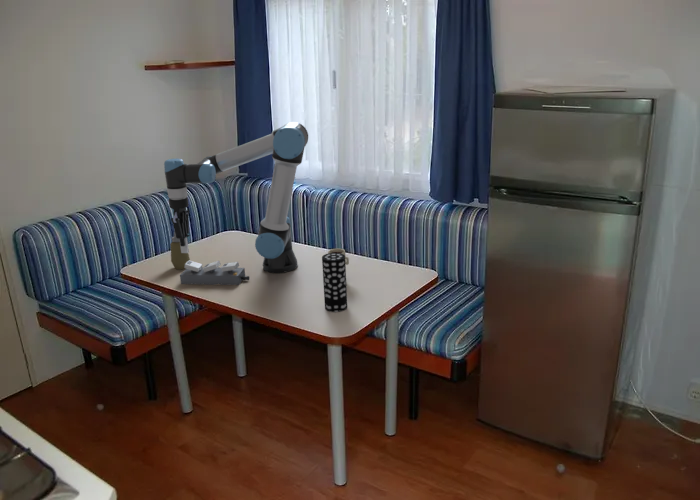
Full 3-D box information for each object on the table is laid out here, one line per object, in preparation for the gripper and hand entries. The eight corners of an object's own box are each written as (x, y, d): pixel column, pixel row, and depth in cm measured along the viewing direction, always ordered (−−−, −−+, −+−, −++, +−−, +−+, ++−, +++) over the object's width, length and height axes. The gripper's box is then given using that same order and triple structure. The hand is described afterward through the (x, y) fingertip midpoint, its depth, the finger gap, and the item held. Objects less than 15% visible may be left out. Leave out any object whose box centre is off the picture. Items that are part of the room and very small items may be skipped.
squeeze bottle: (185, 271, 257) (180, 232, 251) (169, 270, 259) (163, 231, 253) (193, 264, 265) (188, 226, 259) (177, 264, 266) (171, 226, 260)
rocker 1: (201, 268, 247) (202, 264, 247) (197, 272, 243) (198, 268, 242) (188, 263, 248) (189, 259, 247) (184, 267, 243) (185, 263, 243)
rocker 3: (239, 265, 245) (238, 261, 244) (235, 269, 241) (234, 265, 240) (225, 267, 246) (224, 263, 245) (222, 271, 242) (221, 267, 241)
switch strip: (252, 276, 248) (251, 265, 246) (245, 284, 240) (244, 273, 238) (189, 275, 252) (187, 264, 250) (181, 283, 244) (179, 272, 242)
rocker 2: (220, 264, 246) (219, 260, 245) (217, 268, 241) (215, 264, 241) (208, 268, 247) (206, 264, 247) (204, 272, 243) (202, 268, 242)
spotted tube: (347, 302, 220) (344, 252, 214) (347, 311, 212) (345, 260, 206) (325, 303, 220) (322, 253, 213) (324, 312, 212) (321, 261, 206)
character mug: (353, 280, 240) (352, 250, 236) (345, 286, 234) (343, 255, 230) (331, 276, 245) (329, 246, 241) (322, 282, 240) (320, 252, 235)
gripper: (175, 193, 242) (182, 247, 250) (162, 201, 230) (170, 257, 238) (193, 193, 241) (199, 247, 249) (180, 201, 229) (187, 258, 237)
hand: (185, 252), depth 243 cm, fingers closed
